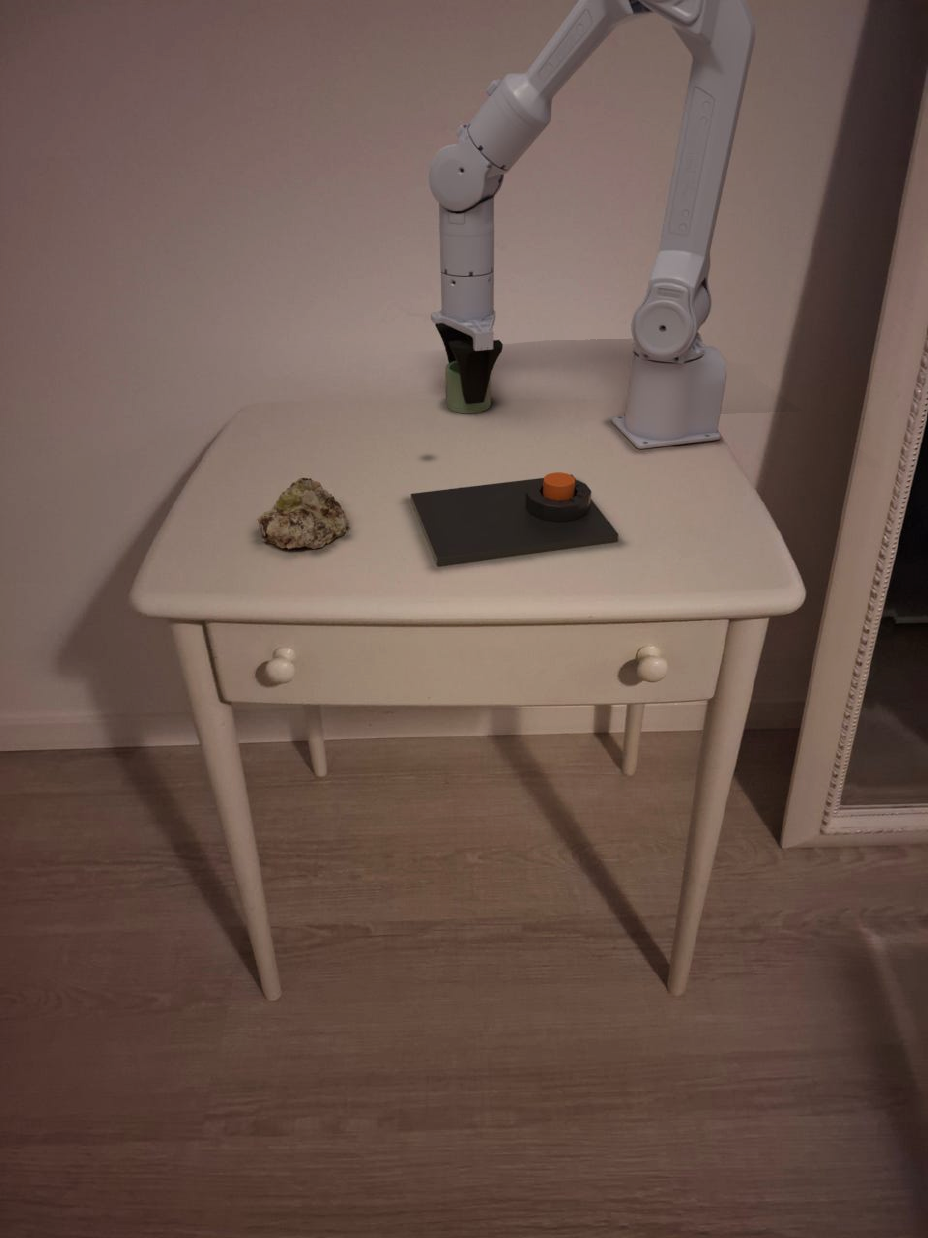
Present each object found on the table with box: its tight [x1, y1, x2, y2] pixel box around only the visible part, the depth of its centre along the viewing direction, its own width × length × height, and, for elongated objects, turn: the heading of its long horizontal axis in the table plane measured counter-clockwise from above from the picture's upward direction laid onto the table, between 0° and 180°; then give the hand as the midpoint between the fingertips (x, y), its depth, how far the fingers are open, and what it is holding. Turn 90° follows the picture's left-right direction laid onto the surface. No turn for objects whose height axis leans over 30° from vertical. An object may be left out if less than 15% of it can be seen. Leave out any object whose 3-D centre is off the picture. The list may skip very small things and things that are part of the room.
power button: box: [543, 471, 576, 500], centre depth 78 cm, size 3×3×2 cm
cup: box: [444, 361, 492, 414], centre depth 100 cm, size 5×5×4 cm
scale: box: [410, 473, 619, 568], centre depth 78 cm, size 16×12×2 cm
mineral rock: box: [256, 477, 350, 550], centre depth 78 cm, size 11×4×8 cm
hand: (468, 392), depth 100 cm, fingers closed on cup, 5 cm apart
